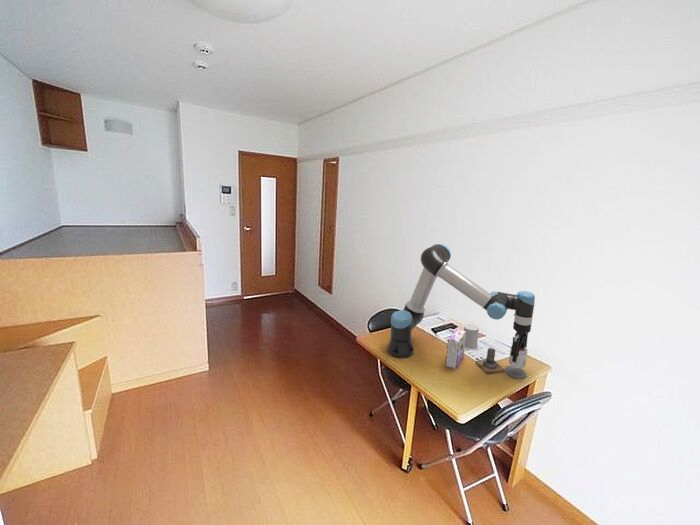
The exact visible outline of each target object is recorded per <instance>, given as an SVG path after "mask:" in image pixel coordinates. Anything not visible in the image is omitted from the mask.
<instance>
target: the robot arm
mask: <svg viewBox="0 0 700 525" xmlns="http://www.w3.org/2000/svg"><path fill="white" fill-rule="evenodd" d="M451 257H452V254H451V251H450V248H449V247H448V246H447V245H445V244H443V243H436V244H432V246H430V247H427V248H426V249H424V250H423V251H422V253H421V255H420V263H421V265H422V267H423V269H422V270H421V273H420V276H419V278H418V281H417V283H416V285H415V288H414V289H413V292H412V295H411V297H410V300H408V301H406V303H405V304H404V308H403V310H402V309H401V310H397V311H396V310H395V311H394V312H393V313H392V314H391V317H390V318H391V319H390V339H389V342H388V345H387V353H388V352H389V353H390V354H391V355H390V354H389V353H388V354H389V355H390V356H392V355H393V356H392V357H394V356H395V357H394V358H398V357H400V358H399V359H407V358H411V357H412V356H413V355H414V352H415V348H414V345H413V341H412V330H414V329H415V328H416V326H417V325H419V324H421V322H422V321H423V318H424V316H425V311H426V309H425V305H426V302H427V300H428V298H429V295H430V293H431V291H432V288H433V287H434V284H435V282H436V279H437V278H441V279H442V280H443V281H444V282H445V283H447V284H448V285H450V286H452V288H454V289H456V291H458V292H460V293H461V294H463V295H464V296H466V297H467V298H469V299H470V300H471V301H473V302H474V303H475V304H477V305H478V306H480V307H481V308H482V309H483V310H485V311H486V313H487V316H488V317H489V318H490V319H493V320H495V321H496V320H501V319H503V318H504V316H505V315H506V314H507V312H508V310H513V311H515V312H514V313H513V316H514V318H513V319H514V321H513V327H512V328H513V330H514V331H515V334H514V336H513V337H512V343H511V346H512V349H511V348H510V350H511V353H510V352H509V355H510V354H511V356H512V361H511V364H510V366H512V367H514V368H517V365H518V358H519V356H518V354H519V350H520V346H522V347H524V348H526V349H527V347H528V336H529V333H530V332H531V330H532V322H533V316H534V310H535V309H534V307H535V299H536V297H535V296H536V295H535V294H534V293H533V292H531V291H525V290H521V291H520V290H519V291H518V292H517V294H513V293H507V292H501V291H491V292H489V291H487V290H485V289H484V288H483V287H481V286H480V285H478V284H477V283H475V282H474V281H473V280H471V279H470V278H469V277H467V276H465V275H464V274H462V273H461V272H460V271H458V270H456V269H455V268H454V267H452V266H451V265H450V264H449V261H450V260H451Z"/></svg>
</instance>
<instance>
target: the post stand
mask: <svg viewBox="0 0 700 525" xmlns="http://www.w3.org/2000/svg"><path fill="white" fill-rule="evenodd" d="M495 357H496V349H495V348H492V347H489V348H487V352H486V358H484V359H481V360H476V361H475V365H476V366H477V367H478V368H479V369H480V370H482V371H483V373H484V374H486V375H491V374H492V375H493V374H498V373H499V374H500V373H505V367H504V368H503V366H501V365H500V364H499V363H498V361H496V360H495Z"/></svg>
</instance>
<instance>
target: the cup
mask: <svg viewBox="0 0 700 525" xmlns="http://www.w3.org/2000/svg"><path fill="white" fill-rule="evenodd" d="M463 326H464V327H463V331H466V336H465V347H464V348H465V349H469V350H470V349H473V350H474V349H477V347H478V339H479V331H480V327H479V326H478V325H477V324H473V323H466V324H464V325H463Z"/></svg>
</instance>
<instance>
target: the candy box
mask: <svg viewBox="0 0 700 525" xmlns="http://www.w3.org/2000/svg"><path fill="white" fill-rule="evenodd" d="M465 336H466V331H464V330H462V329H457V328H455V329H454V331H453V332H452V333H451V334H450V336H449V337H448V338H447V346H446V360H445V367H448V368H450V369H452V370H453V369H454V370H457V369H458V367H459V366H460V364H461V363H462V360H463V359H464V357H465V348H466V347H465Z"/></svg>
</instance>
